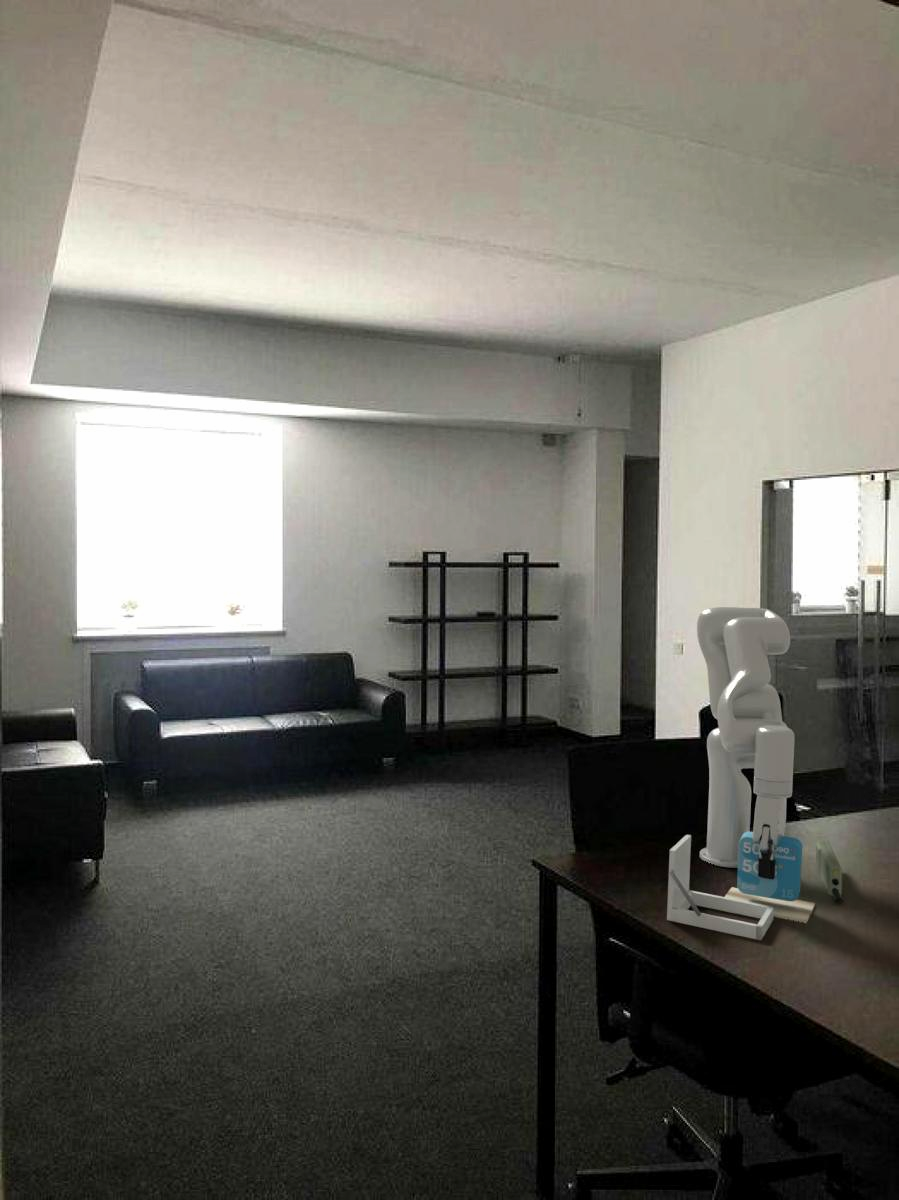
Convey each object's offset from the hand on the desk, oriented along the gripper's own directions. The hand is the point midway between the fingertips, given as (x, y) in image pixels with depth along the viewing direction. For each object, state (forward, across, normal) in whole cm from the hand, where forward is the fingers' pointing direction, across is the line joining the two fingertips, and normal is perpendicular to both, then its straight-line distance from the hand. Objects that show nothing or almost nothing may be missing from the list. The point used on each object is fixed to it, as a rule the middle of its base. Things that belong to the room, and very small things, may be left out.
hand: (768, 873), depth 198 cm
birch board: (+7, 0, 0) cm, 7 cm away
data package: (+5, 0, 0) cm, 5 cm away
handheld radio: (+7, -21, +9) cm, 24 cm away
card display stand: (+7, +13, -6) cm, 16 cm away
